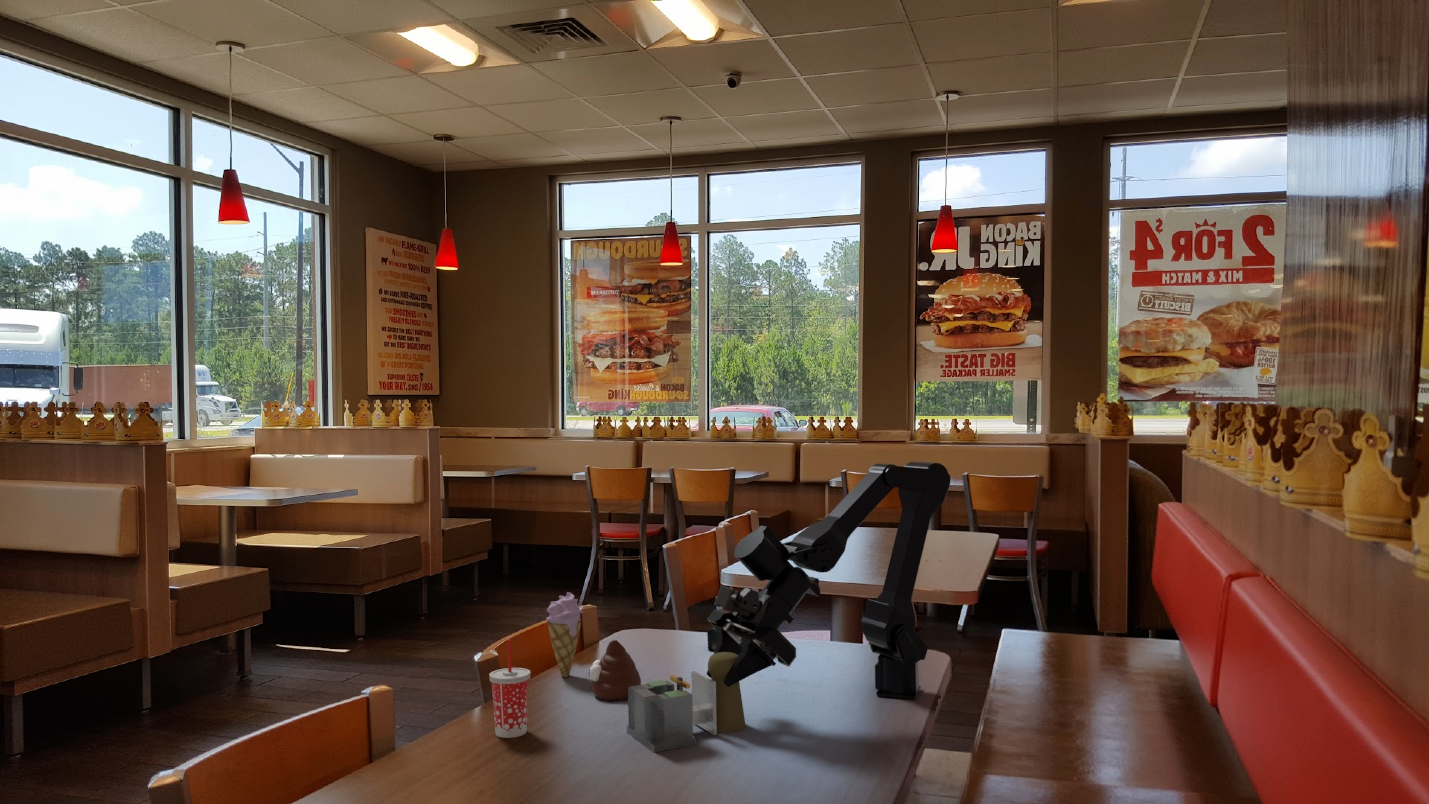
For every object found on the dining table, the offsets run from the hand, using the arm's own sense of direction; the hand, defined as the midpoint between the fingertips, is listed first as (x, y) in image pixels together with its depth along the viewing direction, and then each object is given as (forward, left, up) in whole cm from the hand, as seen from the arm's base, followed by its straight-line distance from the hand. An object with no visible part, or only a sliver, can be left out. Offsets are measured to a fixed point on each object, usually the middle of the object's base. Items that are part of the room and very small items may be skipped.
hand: (717, 680), depth 150 cm
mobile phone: (+10, -44, -7) cm, 46 cm away
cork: (-1, -1, -7) cm, 7 cm away
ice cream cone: (+36, -19, -7) cm, 41 cm away
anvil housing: (+6, +7, -7) cm, 11 cm away
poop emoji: (+23, -12, -7) cm, 27 cm away
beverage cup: (+29, +11, -7) cm, 32 cm away
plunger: (+3, +3, -7) cm, 8 cm away
